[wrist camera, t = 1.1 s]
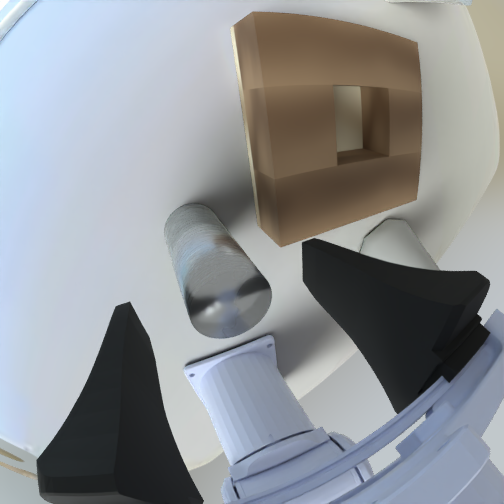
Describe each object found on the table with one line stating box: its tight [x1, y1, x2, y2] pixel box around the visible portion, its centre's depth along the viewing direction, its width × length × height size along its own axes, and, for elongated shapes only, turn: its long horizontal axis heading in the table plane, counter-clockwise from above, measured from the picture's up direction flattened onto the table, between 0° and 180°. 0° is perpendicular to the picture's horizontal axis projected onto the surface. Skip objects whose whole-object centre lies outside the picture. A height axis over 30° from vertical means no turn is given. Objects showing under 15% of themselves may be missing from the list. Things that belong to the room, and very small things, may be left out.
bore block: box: [230, 12, 422, 247], centre depth 14 cm, size 12×12×3 cm
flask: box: [360, 219, 441, 271], centre depth 20 cm, size 7×7×10 cm
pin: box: [164, 204, 272, 339], centre depth 13 cm, size 3×3×7 cm
